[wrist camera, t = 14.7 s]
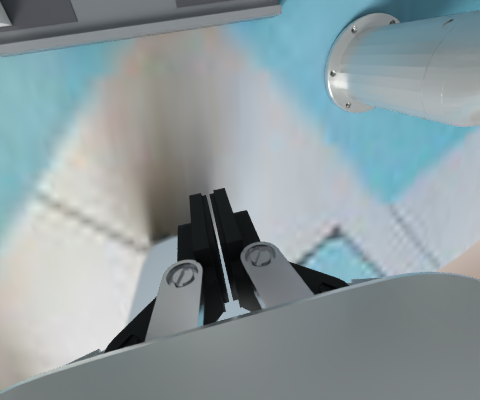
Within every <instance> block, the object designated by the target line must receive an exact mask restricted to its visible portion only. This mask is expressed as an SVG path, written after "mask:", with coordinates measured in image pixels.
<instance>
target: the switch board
mask: <svg viewBox="0 0 480 400" xmlns="http://www.w3.org/2000/svg"><path fill="white" fill-rule="evenodd" d="M0 2H1V4H2V6H3V8H4V10H5V12H6V14H7V16H8V18H9V20H10V22H11V24H12V25H10V26H2V27H0V57H8V56H15V55H22V54H29V53H35V52H42V51H49V50H56V49H63V48H69V47H76V46H83V45H90V44H96V43H103V42H110V41H117V40H123V39H130V38H137V37H144V36H150V35H157V34H164V33H171V32H178V31H184V30H191V29H198V28H205V27H211V26H218V25H225V24H232V23H238V22H245V21H252V20H259V19H265V18H272V17H275V16H277V15H279V14H281V13H282V11H281V5H278V0H0Z"/></svg>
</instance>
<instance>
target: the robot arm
mask: <svg viewBox="0 0 480 400" xmlns="http://www.w3.org/2000/svg"><path fill="white" fill-rule="evenodd" d="M351 30H352V31H351ZM330 73H331V75H330ZM325 85H326V89H327V92H328V95H329V96H330V98H331V100H332V101H333V102H334V104H335V105H336V106H338V107H339V108H341V109H343V110H345V111H349V112H352V113H361V112H367V111H369V110H372V109H374V108H376V107H378V108H382V109H386V110H390V111H394V112H398V113H402V114H406V115H410V116H414V117H418V118H422V119H426V120H430V121H435V122H439V123H443V124H447V125H451V126H459V127H471V126H479V125H480V10H477V11H471V12H465V13H458V14H452V15H446V16H440V17H434V18H427V19H421V20H415V21H409V22H402V23H401V22H400V21H399V20H398V19H397V18H395V17H393V16H392V15H390V14H386V13H372V14H368V15H365V16H362V17H360V18H358V19H356V20H355V21H353V22H351V23H350V24H349V25H348V26H347V27H346V28H345V29H344V30H343V31H342V32H341V33H340V35H339V36H338V37H337V38H336V40H335V42H334V44H333V46H332V47H331V50H330V52H329V55H328V58H327V62H326V66H325ZM213 191H214V193H213V194H210V199H211V203H212V208H213V213H214V217H215V222H216V227H217V231H218V236H219V240H220V245H221V249H222V254H223V258H224V262H225V267H226V271H227V275H228V280H229V284H230V288H231V293H232V297H233V300H239V304H240V307H243V308H245V309H247V310H249V311H250V313H247V314H243V315H239V316H236V317H232V318H229V319H225V320H221V321H218V319H219V317H220V316H221V315H222V313H223V312H226V310H225V304H224V303H227V302H229V299H228V293H227V289H226V284H225V279H224V273H223V269H222V264H221V259H220V254H219V249H218V244H217V239H216V235H215V231H214V227H213V223H212V218H211V214H210V210H209V206H208V201H207V197H206V195H204V196H202V195H201V193H199V194H195V195H190V196H189V199H190V214H191V223H189V224H184V225H180V226H178V255H177V257H178V258H177V263H175V264H173V265H171V266H170V267H169V268H168V269H167V270H166V271H165V272H164V274H163V277H162V280H161V283H160V287H159V291H158V294H157V297H156V298H155V299H154V300H153V301H152V302H151V303H150V304H149V305H148V306H147V307H145V309H143V310H142V311H141V312H140V313H139V314H138V315H137V316H136V317H135V318H134V319H133V321H131V322H130V323H129V324H128V325H127V326H126V327H125V328H124V329H123V330H122V331H121V332H120V333H119V334H118V335H117V336H116V337H115V338H114V339H113V340H112V341H111V343H110V344H109V345H108V347H107V348H106V350H104V351H102V352H101V350H100V349H98V350H96V351H94V352H91V353H89V354H87V355H85V356H83V357H81V358H79V359H77V360H75V361H73V362H71V363H69V364H66V365H64V366H62V367H59V368H56V369H53V370H50V371H47V372H44V373H41V374H38V375H36V376H33V377H31V378H28V379H26V380H23V381H21V382H19V383H16V384H14V385H12V386H10V387H8V388H6V389H4V390H2V391H0V400H480V279H477V278H473V277H470V276H465V275H460V274H452V273H440V272H420V273H407V274H400V275H394V276H389V277H385V278H370V279H354V280H351V283H346V282H344V281H343V280H340V279H338V278H336V277H333V276H330V275H327V274H324V273H321V272H318V271H315V270H312V269H309V268H306V267H303V266H300V265H297V264H294V263H291V262H288V261H287V259H286V258H285V257H284V255H283V254H282V253H281V252H280V250H279V249H278V248H277V247H276V246H275V245H273V244H271V243H268V242H260V239H259V237H258V235H257V232H256V230H255V228H254V226H253V223H252V221H251V219H250V216H249V214H248V212H247V210H245V211H241V212H236V213H233V211H232V208H231V206H230V203H229V200H228V197H227V194H226V191H225V188H222V189H218V190H213Z"/></svg>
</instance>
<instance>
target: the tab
mask: <svg viewBox="0 0 480 400" xmlns="http://www.w3.org/2000/svg"><path fill="white" fill-rule="evenodd" d="M10 25H12V24H11V22H10V20H9V18H8V16H7V14H6V12H5V10H4V8H3V6H2V4H1V2H0V27H2V26H10Z"/></svg>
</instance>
